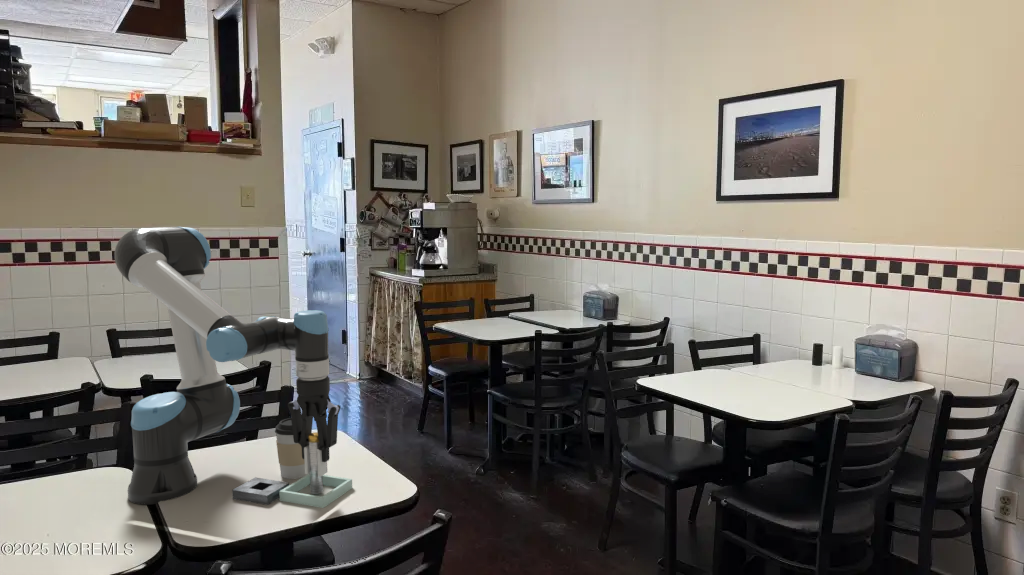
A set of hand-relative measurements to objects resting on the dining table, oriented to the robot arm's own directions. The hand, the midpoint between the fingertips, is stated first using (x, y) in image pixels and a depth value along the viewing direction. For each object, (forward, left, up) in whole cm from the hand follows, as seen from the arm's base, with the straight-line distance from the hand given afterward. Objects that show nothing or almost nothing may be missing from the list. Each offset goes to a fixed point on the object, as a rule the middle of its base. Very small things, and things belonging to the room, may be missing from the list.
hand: (316, 472), depth 163 cm
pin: (0, 0, -5) cm, 5 cm away
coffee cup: (-13, +9, -6) cm, 17 cm away
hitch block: (-12, -5, -6) cm, 14 cm away
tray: (0, 0, -6) cm, 6 cm away
